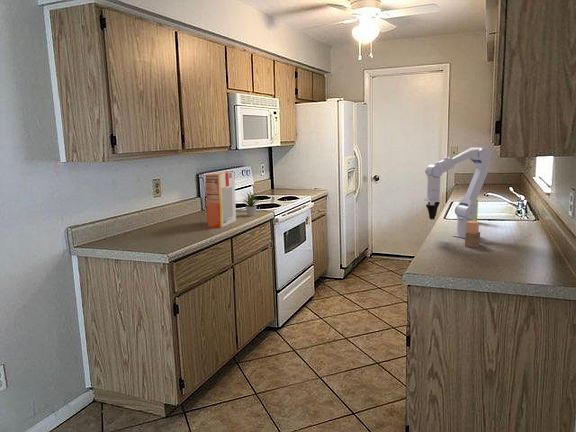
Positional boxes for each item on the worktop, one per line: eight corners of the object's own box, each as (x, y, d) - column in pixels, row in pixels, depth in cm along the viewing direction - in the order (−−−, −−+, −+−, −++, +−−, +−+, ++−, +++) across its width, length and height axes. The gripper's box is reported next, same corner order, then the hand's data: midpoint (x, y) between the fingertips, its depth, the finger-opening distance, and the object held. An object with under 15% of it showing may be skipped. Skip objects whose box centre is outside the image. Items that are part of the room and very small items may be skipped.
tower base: (465, 244, 224) (465, 237, 223) (478, 244, 221) (479, 238, 221) (464, 246, 218) (465, 240, 218) (479, 247, 216) (479, 241, 215)
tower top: (465, 237, 223) (466, 231, 222) (479, 238, 221) (480, 232, 220) (465, 240, 218) (465, 233, 217) (479, 241, 215) (480, 234, 215)
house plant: (268, 214, 313) (268, 189, 310) (254, 218, 302) (253, 192, 299) (252, 213, 321) (251, 188, 319) (238, 216, 311) (237, 190, 308)
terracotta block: (468, 231, 222) (468, 220, 221) (478, 232, 220) (479, 221, 219) (465, 233, 218) (466, 222, 217) (476, 234, 216) (476, 223, 215)
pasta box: (223, 220, 297) (221, 171, 292) (236, 220, 294) (234, 171, 289) (207, 227, 275) (205, 174, 270) (220, 227, 273) (218, 174, 268)
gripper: (426, 187, 238) (425, 215, 240) (423, 191, 224) (422, 220, 226) (441, 188, 235) (440, 215, 237) (439, 191, 222) (438, 220, 224)
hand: (432, 218), depth 232 cm, fingers open, 7 cm apart
